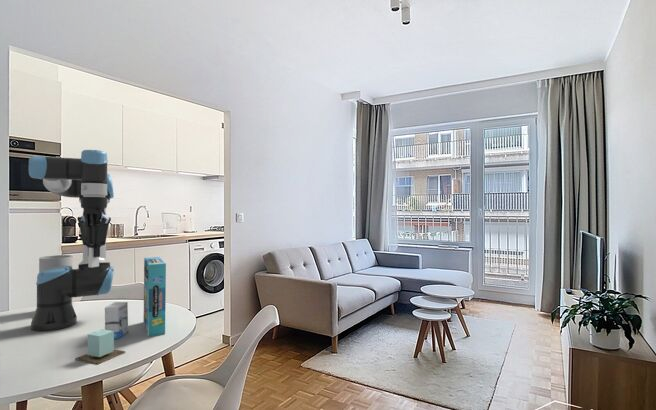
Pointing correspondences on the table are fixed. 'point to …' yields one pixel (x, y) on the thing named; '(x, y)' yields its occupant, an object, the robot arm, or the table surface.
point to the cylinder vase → (55, 261)
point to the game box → (154, 295)
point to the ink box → (117, 318)
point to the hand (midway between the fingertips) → (93, 266)
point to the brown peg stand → (99, 359)
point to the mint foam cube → (100, 343)
